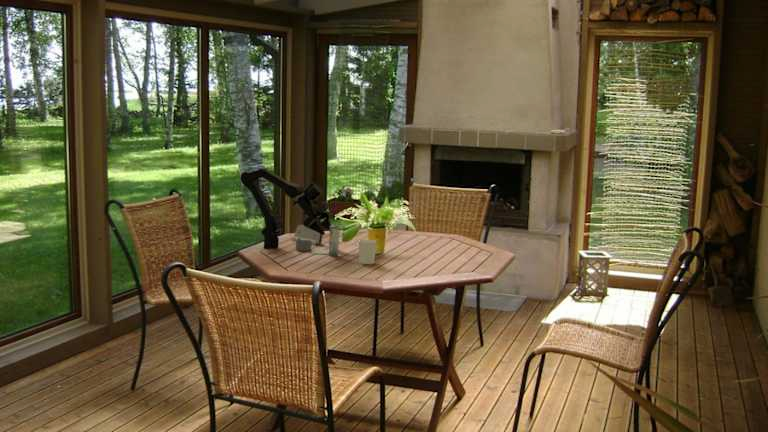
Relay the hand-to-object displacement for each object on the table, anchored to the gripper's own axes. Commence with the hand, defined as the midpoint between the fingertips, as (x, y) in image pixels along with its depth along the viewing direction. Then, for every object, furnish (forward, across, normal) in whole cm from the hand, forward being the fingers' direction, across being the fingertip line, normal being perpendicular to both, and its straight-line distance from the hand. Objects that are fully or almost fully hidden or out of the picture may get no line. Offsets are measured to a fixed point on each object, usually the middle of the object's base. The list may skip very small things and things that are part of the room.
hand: (328, 232), depth 382 cm
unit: (-3, +4, +18) cm, 18 cm away
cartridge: (+9, 0, +5) cm, 11 cm away
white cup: (+23, -5, -8) cm, 25 cm away
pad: (+3, +3, +11) cm, 12 cm away
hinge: (-8, +22, +23) cm, 33 cm away
